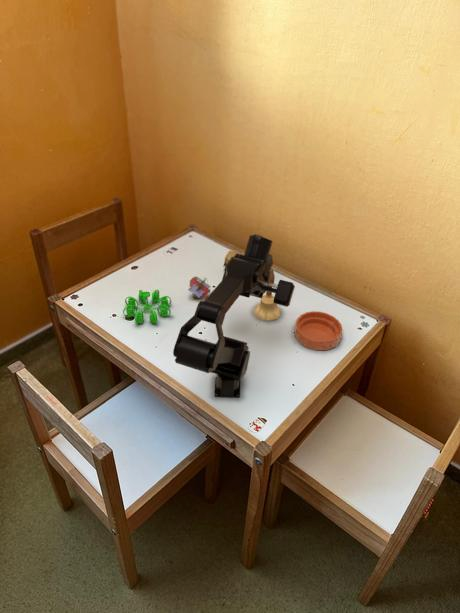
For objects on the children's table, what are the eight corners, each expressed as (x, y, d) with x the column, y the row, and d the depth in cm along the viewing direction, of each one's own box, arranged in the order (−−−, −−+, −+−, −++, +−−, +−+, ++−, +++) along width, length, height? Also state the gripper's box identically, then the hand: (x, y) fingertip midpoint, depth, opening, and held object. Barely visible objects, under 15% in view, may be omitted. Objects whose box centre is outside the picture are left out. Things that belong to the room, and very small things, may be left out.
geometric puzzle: (219, 290, 149) (206, 269, 147) (207, 301, 144) (194, 279, 142) (204, 295, 154) (191, 274, 151) (192, 306, 149) (179, 285, 147)
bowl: (343, 352, 132) (345, 342, 129) (296, 350, 132) (298, 340, 129) (336, 321, 142) (338, 312, 140) (292, 319, 142) (294, 310, 140)
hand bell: (257, 322, 140) (261, 279, 130) (250, 305, 147) (254, 262, 137) (284, 319, 142) (290, 276, 132) (276, 302, 148) (281, 260, 138)
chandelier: (159, 333, 135) (158, 314, 131) (113, 321, 139) (110, 302, 135) (180, 303, 147) (180, 285, 142) (137, 292, 150) (135, 274, 146)
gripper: (297, 258, 113) (303, 272, 128) (225, 241, 118) (239, 256, 133) (284, 302, 113) (292, 311, 128) (213, 284, 118) (228, 294, 133)
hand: (262, 291), depth 130 cm, fingers open, 9 cm apart
